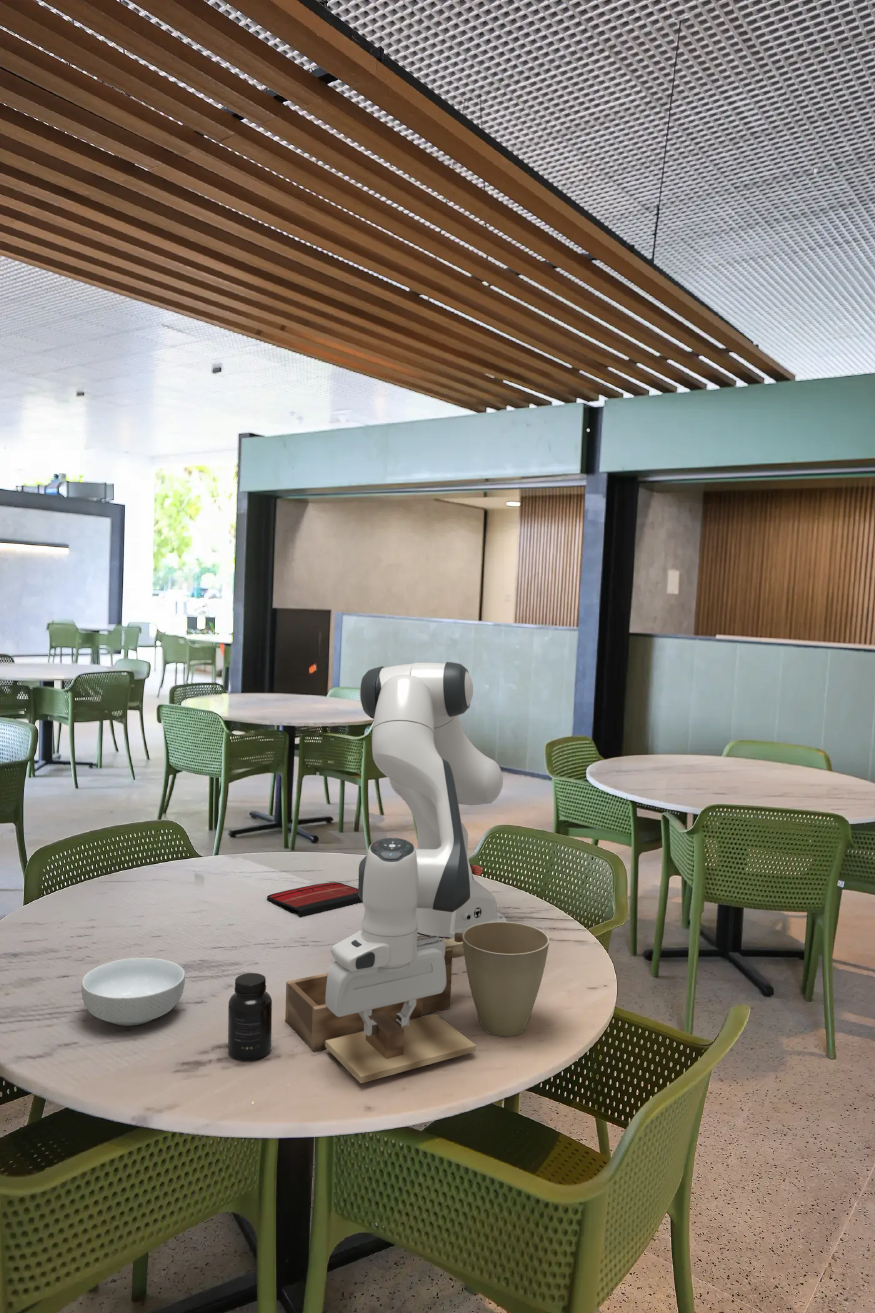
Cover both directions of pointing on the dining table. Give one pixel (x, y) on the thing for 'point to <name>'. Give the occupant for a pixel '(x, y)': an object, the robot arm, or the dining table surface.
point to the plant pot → (504, 973)
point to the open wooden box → (321, 1024)
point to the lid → (398, 1046)
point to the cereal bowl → (133, 990)
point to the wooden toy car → (455, 945)
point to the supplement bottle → (249, 1018)
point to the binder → (316, 898)
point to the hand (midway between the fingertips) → (386, 1029)
